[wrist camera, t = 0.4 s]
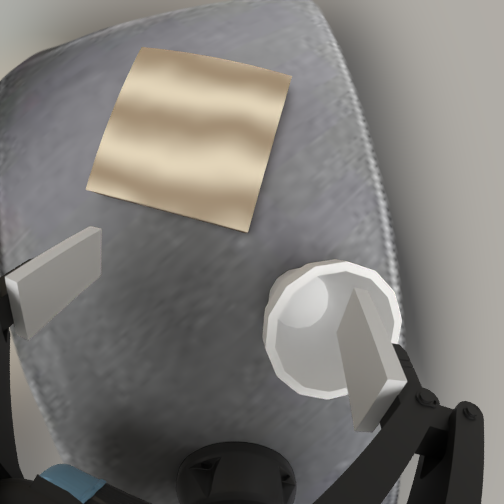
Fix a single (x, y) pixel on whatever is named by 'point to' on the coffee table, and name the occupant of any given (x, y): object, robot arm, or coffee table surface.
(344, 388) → the foam cup
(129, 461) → the coffee table surface
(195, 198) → the wooden base
